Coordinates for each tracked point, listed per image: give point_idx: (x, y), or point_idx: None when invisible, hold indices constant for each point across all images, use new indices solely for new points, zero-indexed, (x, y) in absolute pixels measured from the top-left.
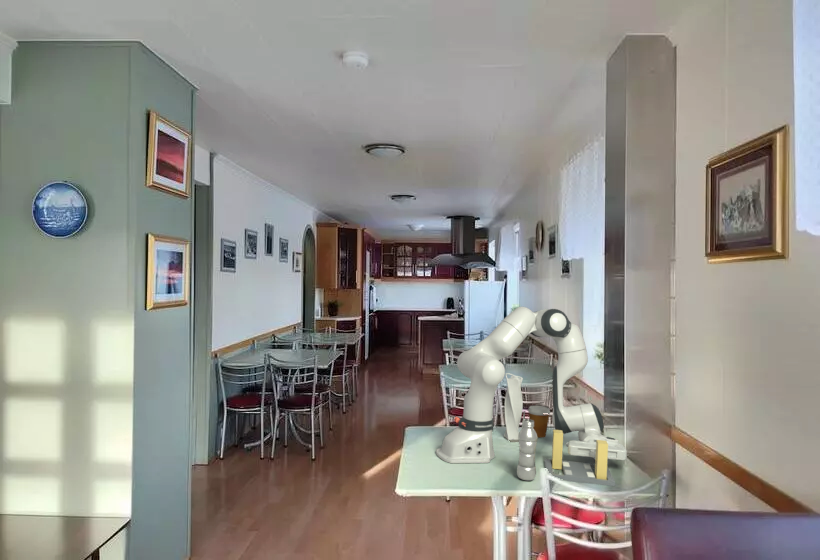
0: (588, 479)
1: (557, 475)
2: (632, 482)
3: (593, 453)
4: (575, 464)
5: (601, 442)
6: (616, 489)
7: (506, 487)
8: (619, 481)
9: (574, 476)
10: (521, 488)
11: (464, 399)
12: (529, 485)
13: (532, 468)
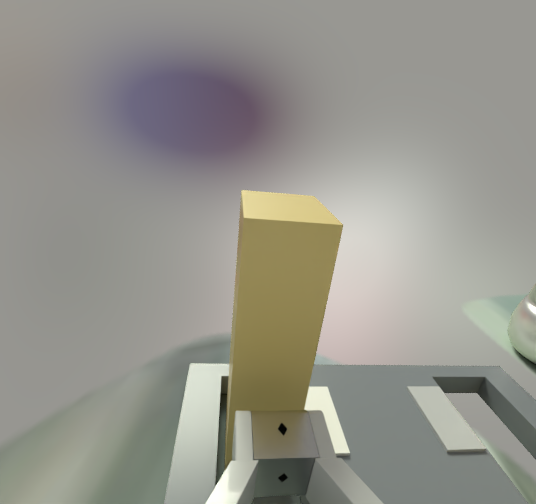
0: (320, 367)
1: (458, 366)
2: (25, 473)
3: (349, 478)
4: None
5: (291, 201)
6: (195, 352)
7: (519, 302)
8: (126, 461)
9: (388, 374)
10: (486, 304)
11: None
12: (487, 321)
13: (526, 297)
